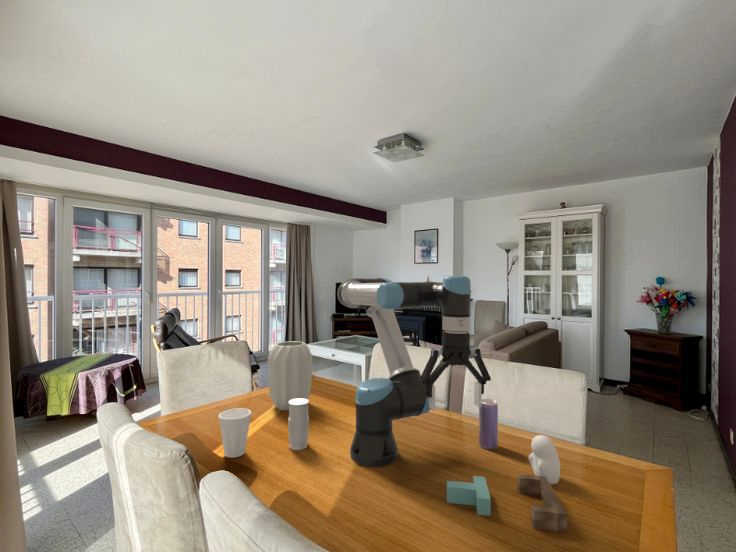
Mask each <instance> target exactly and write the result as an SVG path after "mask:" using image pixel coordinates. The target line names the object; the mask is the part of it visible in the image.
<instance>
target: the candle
mask: <svg viewBox="0 0 736 552" xmlns="http://www.w3.org/2000/svg"><path fill="white" fill-rule="evenodd" d="M309 403H310V400H309V398H308V399H305V398H296V399H292V400H290V401H289V412H288V413H289V415H288V419H287V421H288V422H287V426H288V429H287V431H288V443H289V444H290V445H289V448H290V449H291V450H293V451H302V450H305V449H307V447H308V443H307V442H308V441H309V439H310V438H309V430H310V427H309V426H310V420H309V419H310V417H309Z"/></svg>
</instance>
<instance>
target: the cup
mask: <svg viewBox="0 0 736 552" xmlns="http://www.w3.org/2000/svg"><path fill="white" fill-rule="evenodd" d="M251 416H252V411H251V410H250V409H248V408H245V407H244V408H243V407H241V408H240V407H238V408H230V409H229V408H228V409H227V410H223V411H222V412H219V414H218V416H217V418H218V423H219V428H220V429H219V430H220V433H221V440H222V446H223V447H222V448H223V454H224V456H225V457H226V458H231V459H233V458H238V457H241V456H244V455H245V454H246V449H247V444H248V443H247V441H248V435H249V427H250V422H251V418H252V417H251Z"/></svg>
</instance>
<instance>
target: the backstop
mask: <svg viewBox="0 0 736 552" xmlns="http://www.w3.org/2000/svg"><path fill="white" fill-rule="evenodd" d="M517 491H518V493H519V494H525V495H526V494H527V495H537V496H539V497H540V498H541V501H542V503H543V504H544V505H543V506H540V505H531V525H532V527H533V529H537V530H545V531H555V532H565V533H567V532H568V513H567V512H566V510H565V508H564V506H563V504H562V502H561V500H560V499H559V498H558V496H557V494H556V493H555V491H554V489H553V487H552V484H550V483H549V482H548V480H547V478H546V477H545V476H535V474H534V475H533V474H532V475H531V474H522V473H517Z"/></svg>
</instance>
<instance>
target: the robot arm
mask: <svg viewBox="0 0 736 552" xmlns="http://www.w3.org/2000/svg"><path fill="white" fill-rule="evenodd" d="M471 293H472V289H471V279H470V277H468V276H466V275H465V276H463V275H458V276H457V275H446V276H444V277H443V279H442V282H438V281H423V282H422V281H418V282H417V281H415V282H414V281H413V282H408V281H407V282H403V281H401V282H400V281H397V282H396V281H392V280H390V279H388V278H383V277H377V278H357V277H356V278H355V277H354V278H348V279H347V280H345V281H343V282H342V283H341V284H340V285H339V286H338V288H337V293H336V294H337V299H338V302H340V304H342V305H343V306H344V307H346V308H349V309H364V310H365V312H366V315H367V316H368V317H370V318H371V319H372V322H373V324H374V327H375V331H376V333H377V337H378V341H379V344H380V347H381V350H382V353H383V357H384V360H385V364H386V366H387V369H388V373H389V376H388V378H385V377H380V378H378V377H374V378H369V379H366V380H363V381H362V382H360V383H359V384H358V386H357V388H356V391H355V398H354V399H355V433H354V435H353V439H352V442H351V444H350V445H351V446H350V448H349V450H350V451H349V454H350V459H351V460H352V461H353V462H354V463H356V464H358V465H361V466H364V467H365V466H366V467H370V468H371V467H372V468H373V467H375V468H376V467H377V468H378V467H384V466H388V465H391V464H392V463H394V462H395V461H397V459H398V458H399V457H398V456H399V454H398V453H399V450H398V449H399V448H398V445H397V441H396V439H395V436H394V432H393V421H394V420H400V419H406V418H411V417H418V416H421V415H424V414H426V413H428V412H429V411H430V410H431V411H436V385H434V384H435V383H436V381H438V379H439V377H440V376H441V375H442V374H443V373H444V371H445V370H446V369H447V368H448V367H449V366H463V365H464V366H465V367H466V368H467V369H468V370H469V372H470V373H471V374H472V375H473V377H474V378H475V379H476V381H474V392H473V393H474V394H473V395H474V397H473V400H474V401H473V403H474V405H475V406H476V407H478V408H479V407H481V400H482V395H484V394H485V385H487V382H490V381H491V379H492V378H491V376H490V372H489V371H488V368H487V366H486V364H485V362H484V360H483V357H482V354H481V353H482V352H481V349H480V348H478V347H476V346H473V347H472V348H470V347H471V346H470V345H471V344H470V343H471V334H470V330H471V298H472V297H471V295H472V294H471ZM415 308H438V309H442V321H441V323H442V326H441V327H442V328H441V329H442V330H443V332H442V334H441V335H442V336H441V341H442V342H441V345H442V347H441V349H435V348H431V350H430V356H429V358H428V361H427V362H426V365H425V367H424V369H423V371H422V373H421V372H420V370H419V369H418V368H416V367H414V366H413V363H412V360H411V357H410V354H409V351H408V348H407V346H406V343H405V339H404V337H403V334H402V331H401V328H400V325H399V322H398V321H397V317H396V314H395V311H394V310H396V309H415ZM470 355H471V356H473V359H474V361H475V363H476V365H477V368H478V370H479V371H480V372H479V371H478V370H477V369H476V367H475V366H474V365H473V364H472V362H471V361H470V359H469V357H470ZM441 356H442V358H441V360H439V363H438V364H437V366H436V363H437V361H438V358H440V357H441ZM435 366H436V367H435Z"/></svg>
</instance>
